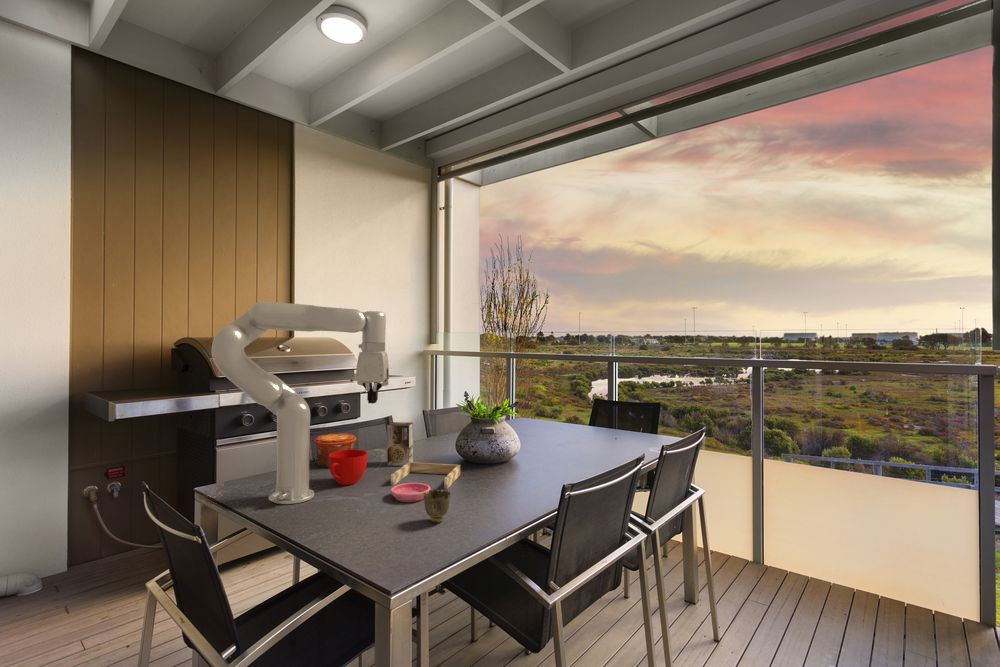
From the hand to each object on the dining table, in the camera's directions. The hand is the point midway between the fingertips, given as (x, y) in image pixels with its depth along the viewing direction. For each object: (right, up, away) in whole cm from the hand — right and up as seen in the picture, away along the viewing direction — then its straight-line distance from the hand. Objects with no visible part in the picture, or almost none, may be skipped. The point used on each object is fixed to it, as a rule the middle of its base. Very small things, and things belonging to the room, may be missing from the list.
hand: (372, 402), depth 171 cm
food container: (-22, -29, +31) cm, 48 cm away
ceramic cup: (-11, -29, +5) cm, 31 cm away
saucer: (+14, -29, -8) cm, 34 cm away
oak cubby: (+17, -29, +10) cm, 35 cm away
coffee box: (+3, -29, +32) cm, 43 cm away
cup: (+25, -29, -29) cm, 48 cm away
